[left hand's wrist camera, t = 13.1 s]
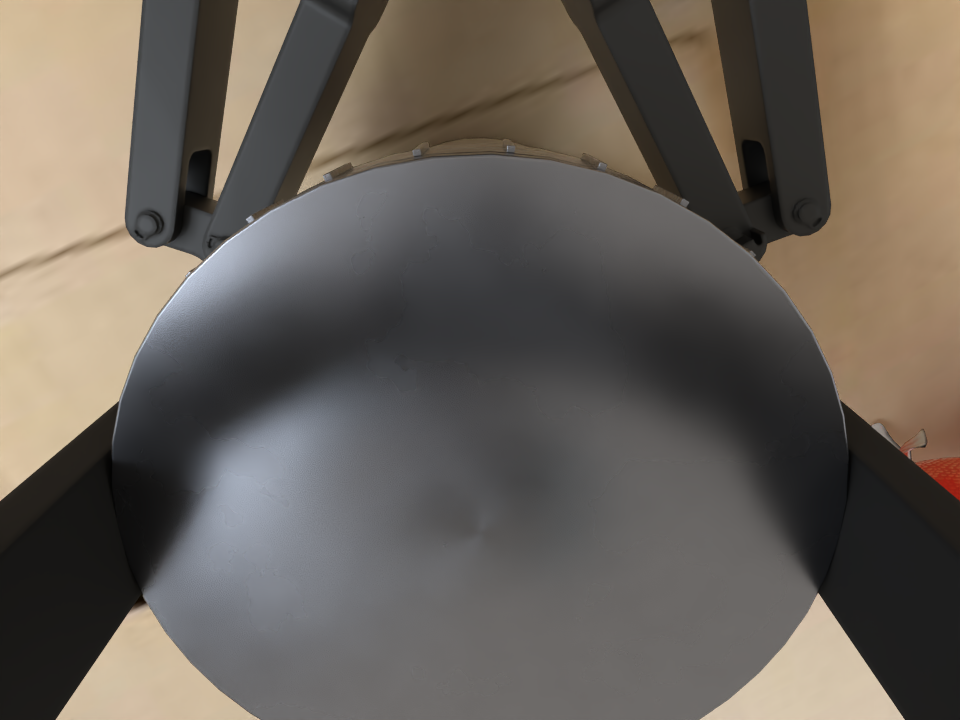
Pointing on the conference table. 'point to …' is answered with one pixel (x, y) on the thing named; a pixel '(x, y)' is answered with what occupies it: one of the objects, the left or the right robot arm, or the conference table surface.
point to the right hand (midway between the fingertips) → (482, 466)
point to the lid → (479, 450)
